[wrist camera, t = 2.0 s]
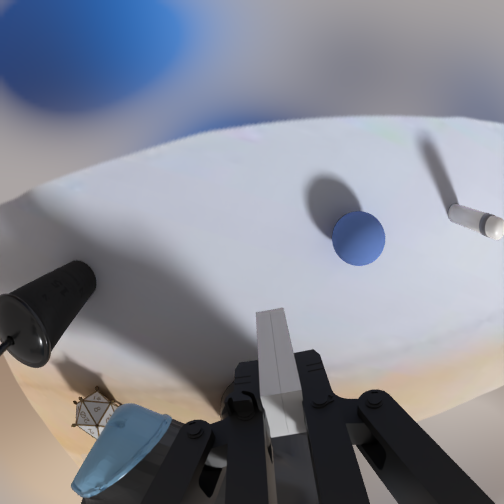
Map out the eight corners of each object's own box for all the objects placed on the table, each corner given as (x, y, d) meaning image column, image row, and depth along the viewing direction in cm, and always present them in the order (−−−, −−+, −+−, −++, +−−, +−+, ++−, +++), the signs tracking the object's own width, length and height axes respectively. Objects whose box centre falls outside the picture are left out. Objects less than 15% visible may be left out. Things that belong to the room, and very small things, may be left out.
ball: (334, 262, 33) (349, 282, 27) (320, 216, 31) (334, 228, 26) (377, 246, 32) (398, 262, 27) (365, 200, 31) (387, 208, 25)
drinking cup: (96, 316, 34) (14, 423, 15) (52, 286, 33) (-45, 370, 14) (114, 270, 33) (12, 373, 13) (65, 238, 31) (-54, 310, 12)
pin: (449, 225, 31) (492, 243, 23) (446, 206, 31) (490, 221, 23) (462, 219, 31) (505, 236, 23) (460, 200, 31) (504, 214, 22)
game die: (104, 384, 43) (54, 401, 35) (119, 374, 38) (61, 395, 30) (128, 430, 41) (80, 452, 32) (147, 428, 36) (92, 454, 28)
